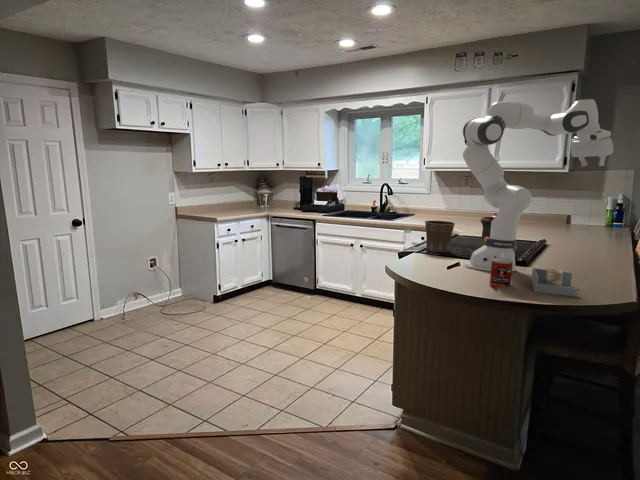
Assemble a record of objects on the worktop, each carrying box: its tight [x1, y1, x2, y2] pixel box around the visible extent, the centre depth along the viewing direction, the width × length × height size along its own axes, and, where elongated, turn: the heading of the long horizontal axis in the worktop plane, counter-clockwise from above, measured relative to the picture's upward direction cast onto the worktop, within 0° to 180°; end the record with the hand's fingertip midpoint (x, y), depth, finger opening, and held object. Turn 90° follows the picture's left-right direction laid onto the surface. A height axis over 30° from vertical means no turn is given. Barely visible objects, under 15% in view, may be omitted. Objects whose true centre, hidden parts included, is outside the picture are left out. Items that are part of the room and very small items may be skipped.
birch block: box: [545, 268, 563, 286], centre depth 165 cm, size 5×5×7 cm
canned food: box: [489, 258, 513, 289], centre depth 169 cm, size 8×8×11 cm
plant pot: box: [424, 220, 456, 254], centre depth 236 cm, size 16×16×16 cm
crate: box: [530, 267, 578, 298], centre depth 166 cm, size 14×16×6 cm
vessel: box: [480, 216, 496, 247], centre depth 230 cm, size 14×14×20 cm
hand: (593, 165), depth 193 cm, fingers open, 8 cm apart
